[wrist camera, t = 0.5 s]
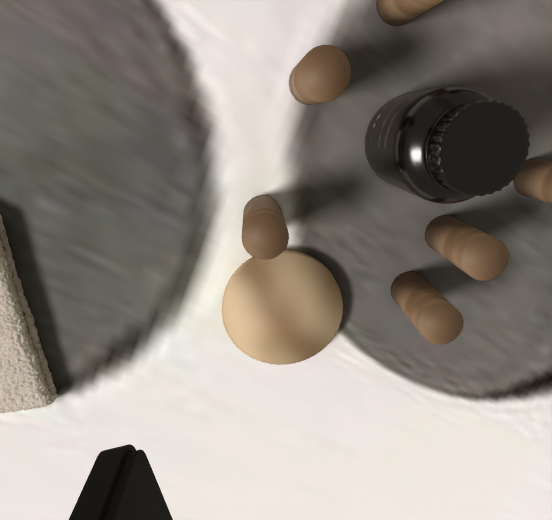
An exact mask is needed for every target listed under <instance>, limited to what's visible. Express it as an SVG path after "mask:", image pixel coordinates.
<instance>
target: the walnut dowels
mask: <svg viewBox="0 0 552 520" xmlns="http://www.w3.org/2000/svg"><path fill="white" fill-rule="evenodd" d="M442 1H444V0H377V2H376V4H377V11H378V14H379V16H380V17H381V19H382V20H383V21H384V22H385V23H387V24H389V25H392V26H401V25H404V24H406V23H407V22H409V21H411V20H412V19H414V18H416V17H417V16H419V15H421V14H422V13H424V12H426V11H427V10H429V9H431V8H432V7H434V6H436V5H437V4H439V3H440V2H442ZM350 78H351V67H350V63H349V60H348V58H347V57H346V55H345V54H344V53H343V52H342V51H341V50H340V49H338V48H336V47H334V46H331V45H321V46H317V47H315V48H313V49H312V50H310V51H309V52H308V53H307V54H306V55H305V56H304V58H303V59H302V60H301V61H300V62H299V63H298V64H297V65H296V67H295V68H294V69H293V71H292V72H291V75H290V79H289V87H290V91H291V93H292V95H293V96H294V98H295V99H296V100H297V101H299V102H301V103H303V104H307V105H311V104H317V103H322V102H326V101H331V100H334V99H336V98H338V97H339V96H340V95H341V94H342V93H343V92H344V91H345V90H346V88H347V87H348V84H349V82H350ZM514 186H515V188H516V190H517V191H518V192H519V193H520V194H522V195H524V196H528V197H531V198H535V199H538V200H542V201H545V202H549V203H552V160H547V159H540V158H532V159H529V160H526V162H525V164H524V165H523V166H522V169H521V172H520V173H518V174H517V176H516V178H515V179H514ZM425 239H426V242H427V244H428V245H429V246H430V247H431V248H432V249H433V250H435V251H436V252H438V253H439V254H440V255H442V256H443V257H445V258H446V259H447V260H449V261H450V262H451V263H453V264H454V265H456V266H457V267H458V268H460V269H461V270H462V271H464V272H465V273H467V274H468V275H469V276H471V277H472V278H474V279H476V280H481V281H485V280H490V279H493V278H495V277H496V276H498V275H499V274H500V273H501V272H502V271H503V270H504V269H505V267H506V265H507V263H508V259H509V252H508V249H507V247H506V245H505V244H504V243H503V242H502V241H500V240H499V239H497V238H495V237H492V236H490V235H488V234H486V233H484V232H482V231H480V230H478V229H476V228H474V227H472V226H470V225H468V224H466V223H464V222H462V221H460V220H458V219H456V218H454V217H452V216H448V215H443V216H439V217H437V218H435V219H434V220H432V221H431V222H430V223H429V225H428V227H427V229H426V232H425ZM288 240H289V234H288V229H287V226H286V223H285V220H284V217H283V214H282V211H281V208H280V206H279V204H278V203H277V202H276V201H275V200H274V199H273V198H271V197H269V196H256V197H254V198H252V199H251V200H250V201H249V202H248V203H247V204H246V206H245V208H244V213H243V226H242V243H243V246H244V248H245V249H246V251H247V252H248V253H249V254H250V255H251V256H253V257H255V258H257V259H262V260H269V259H273V258H275V257H277V256H279V255H280V254H281V253H282V252H283V251H284V250H285V248H286V247H287V244H288ZM391 295H392V297H393V299H394V300H395V301H396V302H397V304H398V305H399V306H400V308H401V309H402V310H403V311H404V313H405V314H406V315H407V316H408V318H409V319H410V320H411V322H412V323H413V324H414V325H415V327H416V328H417V329H418V330H419V332H420V333H421V334H422V336H423V337H424V338H425V339H426V340H427V341H428V342H430V343H432V344H437V345H442V344H446V343H449V342H451V341H453V340H454V339H455V338H457V336H458V335H459V334H460V332H461V331H462V328H463V317H462V315H461V313H460V312H459V311H458V310H457V309H456V308H455V307H454V306H453V305H452V304H451V303H450V302H449V301H448V300H447V299H445V298H444V297H443V296H442V295H441V294H440V293H439V292H438V291H437V290H436V289H435V288H434V287H433V286H431V285H430V284H429V283H428V282H427V281H426V280H425V279H424V278H423V277H422V276H421V275H419V274H418V273H415V272H405V273H403V274H401V275H399V276H398V277H397V278H396V279H395V280H394V281H393V283H392V286H391Z"/></svg>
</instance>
